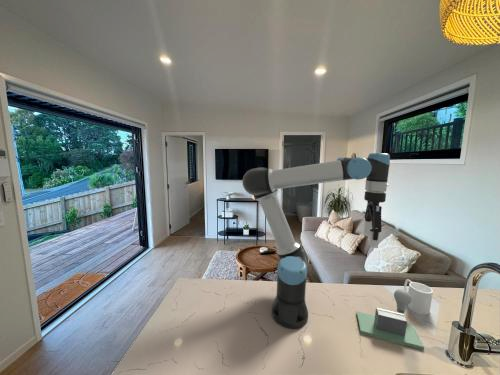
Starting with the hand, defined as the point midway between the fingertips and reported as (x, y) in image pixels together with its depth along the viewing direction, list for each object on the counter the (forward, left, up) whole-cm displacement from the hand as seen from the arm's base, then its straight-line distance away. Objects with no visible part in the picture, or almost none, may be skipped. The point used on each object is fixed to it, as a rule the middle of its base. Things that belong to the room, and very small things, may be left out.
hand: (370, 241), depth 90 cm
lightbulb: (+15, +3, -32) cm, 35 cm away
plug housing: (+7, -10, -30) cm, 33 cm away
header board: (+7, -10, -32) cm, 34 cm away
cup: (+23, +12, -32) cm, 41 cm away
